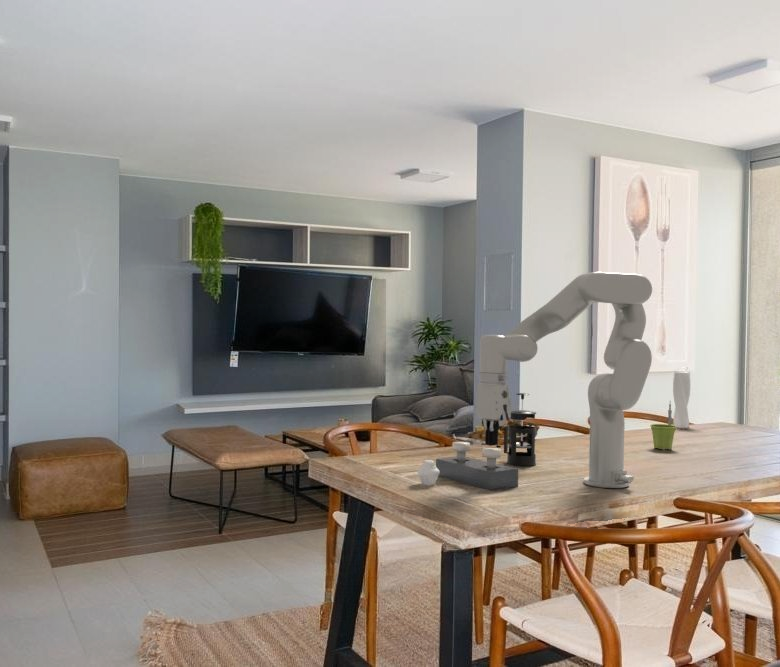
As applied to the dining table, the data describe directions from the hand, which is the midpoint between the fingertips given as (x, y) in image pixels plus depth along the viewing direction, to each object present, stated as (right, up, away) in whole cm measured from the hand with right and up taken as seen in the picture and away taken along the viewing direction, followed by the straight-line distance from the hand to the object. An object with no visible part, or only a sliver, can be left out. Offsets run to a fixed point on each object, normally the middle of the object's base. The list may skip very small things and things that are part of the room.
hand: (491, 444), depth 215 cm
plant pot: (+73, -12, +72) cm, 103 cm away
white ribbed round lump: (-18, -11, 0) cm, 21 cm away
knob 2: (0, -7, 0) cm, 7 cm away
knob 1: (-7, -7, +11) cm, 15 cm away
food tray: (+17, -12, +85) cm, 88 cm away
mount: (-4, -11, +5) cm, 13 cm away
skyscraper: (+102, -12, +131) cm, 166 cm away
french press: (+14, -11, +34) cm, 39 cm away
